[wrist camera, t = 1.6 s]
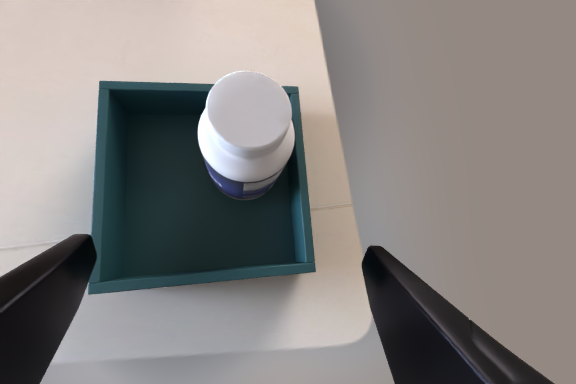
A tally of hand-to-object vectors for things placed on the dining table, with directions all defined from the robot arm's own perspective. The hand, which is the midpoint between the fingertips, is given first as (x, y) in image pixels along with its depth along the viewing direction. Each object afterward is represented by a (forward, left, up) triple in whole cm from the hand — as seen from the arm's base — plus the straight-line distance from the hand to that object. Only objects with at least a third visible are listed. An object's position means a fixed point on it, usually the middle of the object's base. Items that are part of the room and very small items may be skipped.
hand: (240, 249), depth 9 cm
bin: (+5, +2, -12) cm, 14 cm away
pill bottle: (+6, -1, -12) cm, 14 cm away
